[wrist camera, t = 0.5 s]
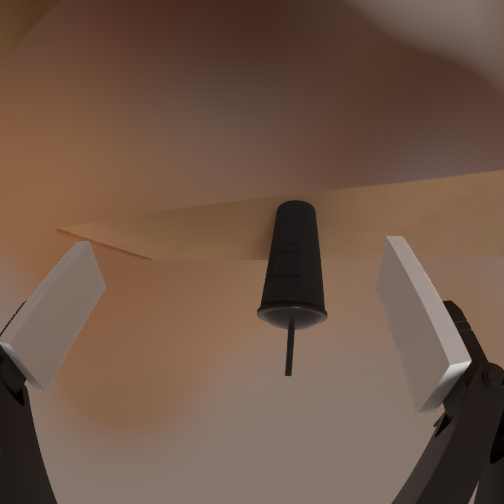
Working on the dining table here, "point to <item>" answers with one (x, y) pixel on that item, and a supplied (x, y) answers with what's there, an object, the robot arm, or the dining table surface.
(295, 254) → the drinking cup
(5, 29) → the dining table surface
